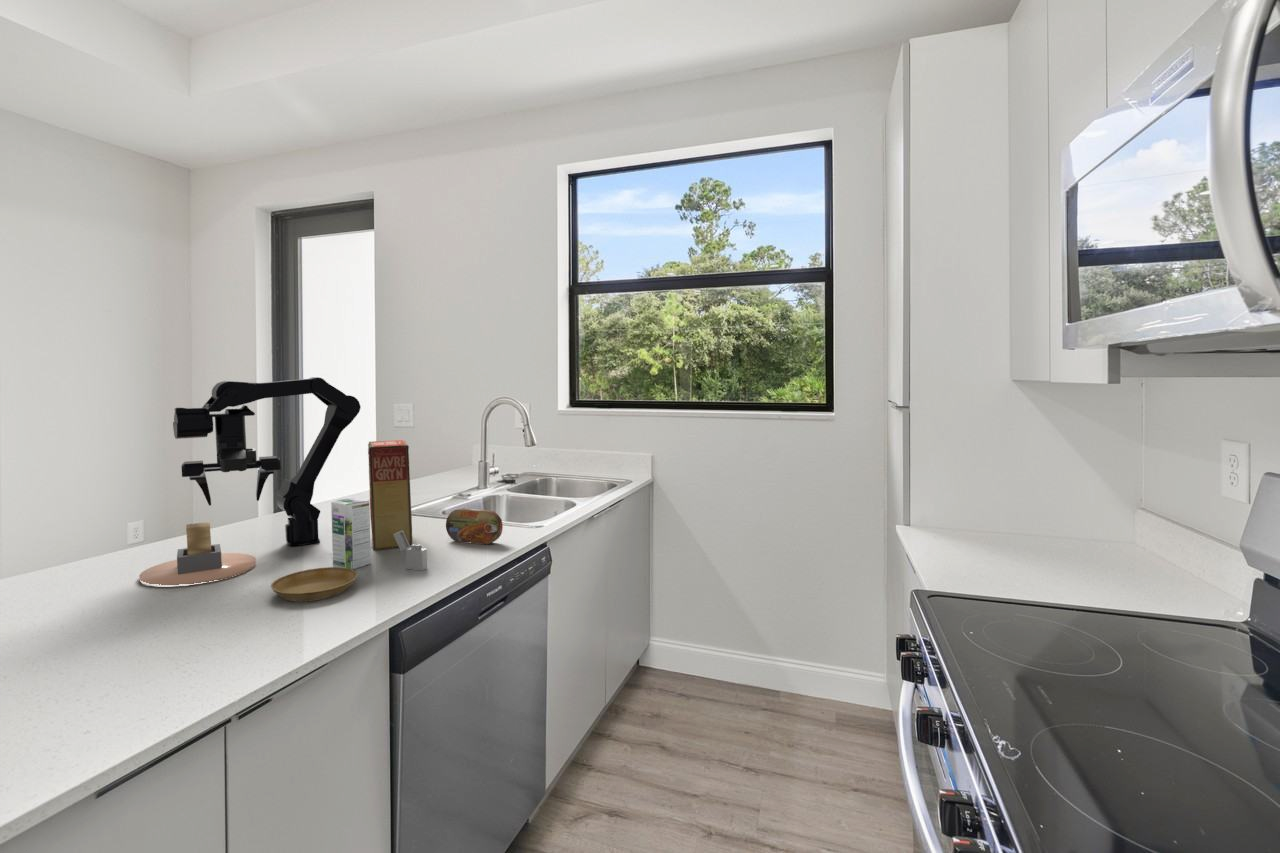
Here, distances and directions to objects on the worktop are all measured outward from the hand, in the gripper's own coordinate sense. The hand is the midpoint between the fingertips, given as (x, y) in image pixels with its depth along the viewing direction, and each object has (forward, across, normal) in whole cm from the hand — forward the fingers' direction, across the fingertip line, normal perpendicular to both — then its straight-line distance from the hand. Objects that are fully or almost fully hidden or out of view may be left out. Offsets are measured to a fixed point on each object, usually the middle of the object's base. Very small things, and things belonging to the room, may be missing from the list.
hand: (234, 502), depth 141 cm
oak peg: (+11, -7, -11) cm, 17 cm away
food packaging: (+12, +32, -10) cm, 36 cm away
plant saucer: (+12, +11, -38) cm, 41 cm away
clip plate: (+12, -7, -11) cm, 18 cm away
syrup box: (+12, +20, -25) cm, 34 cm away
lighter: (+12, +30, -34) cm, 47 cm away
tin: (+12, +49, -22) cm, 55 cm away
